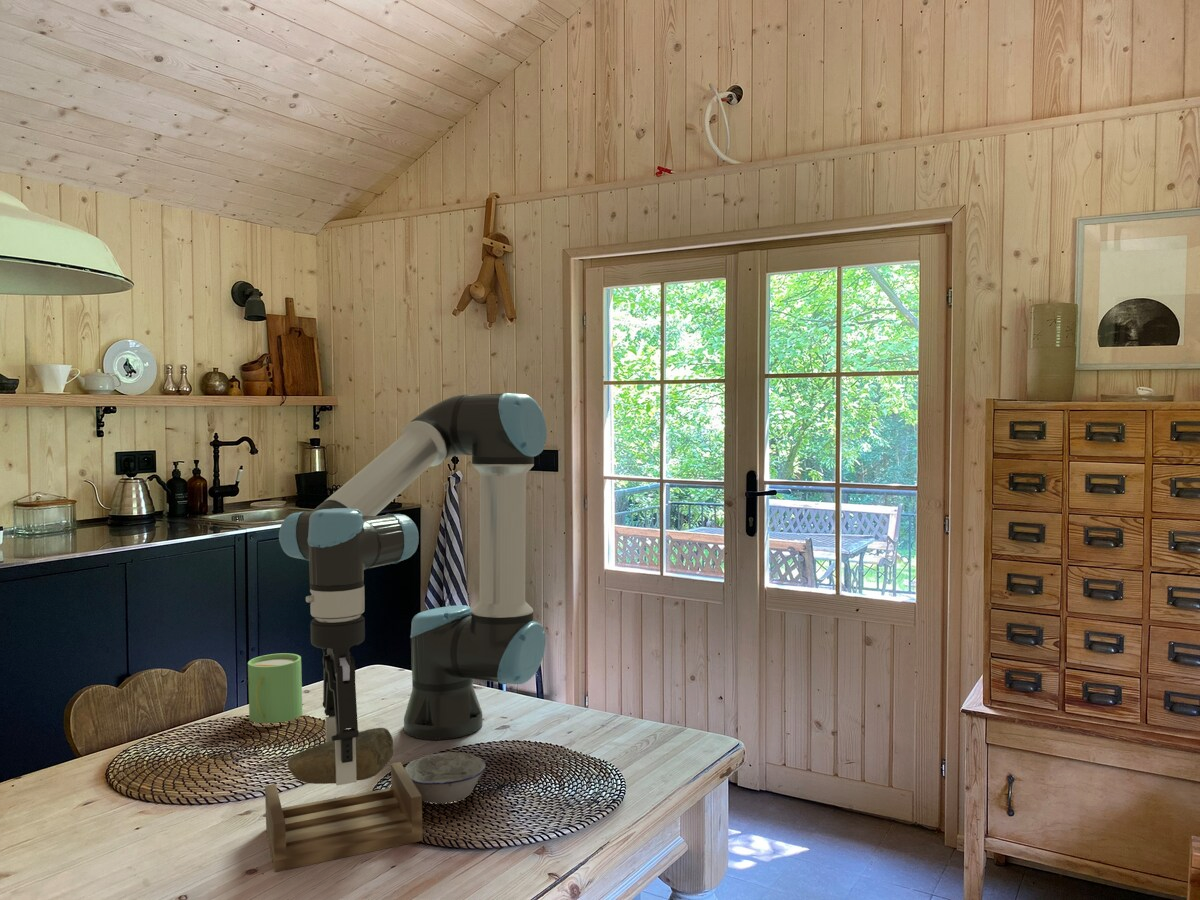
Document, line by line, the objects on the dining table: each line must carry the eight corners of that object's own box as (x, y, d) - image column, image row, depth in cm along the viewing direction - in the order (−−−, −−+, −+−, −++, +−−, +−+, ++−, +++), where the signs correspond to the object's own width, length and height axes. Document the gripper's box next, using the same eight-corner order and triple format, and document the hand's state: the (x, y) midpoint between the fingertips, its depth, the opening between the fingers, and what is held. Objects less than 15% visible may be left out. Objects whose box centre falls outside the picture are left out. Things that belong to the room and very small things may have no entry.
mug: (263, 709, 188) (262, 652, 187) (311, 711, 186) (309, 653, 186) (231, 730, 175) (229, 670, 175) (281, 732, 174) (279, 671, 173)
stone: (409, 769, 130) (374, 715, 127) (320, 828, 126) (282, 774, 124) (400, 744, 138) (367, 693, 135) (316, 799, 134) (281, 747, 132)
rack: (401, 802, 142) (400, 762, 141) (422, 840, 129) (421, 795, 129) (266, 828, 133) (264, 785, 133) (274, 872, 120) (273, 824, 120)
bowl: (431, 820, 135) (430, 788, 135) (389, 794, 145) (388, 765, 145) (501, 795, 144) (501, 765, 144) (458, 772, 154) (457, 744, 153)
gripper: (301, 605, 138) (304, 750, 139) (320, 635, 118) (324, 804, 119) (351, 600, 141) (354, 742, 142) (378, 629, 121) (381, 793, 122)
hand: (340, 770), depth 131 cm, fingers closed on stone, 9 cm apart
